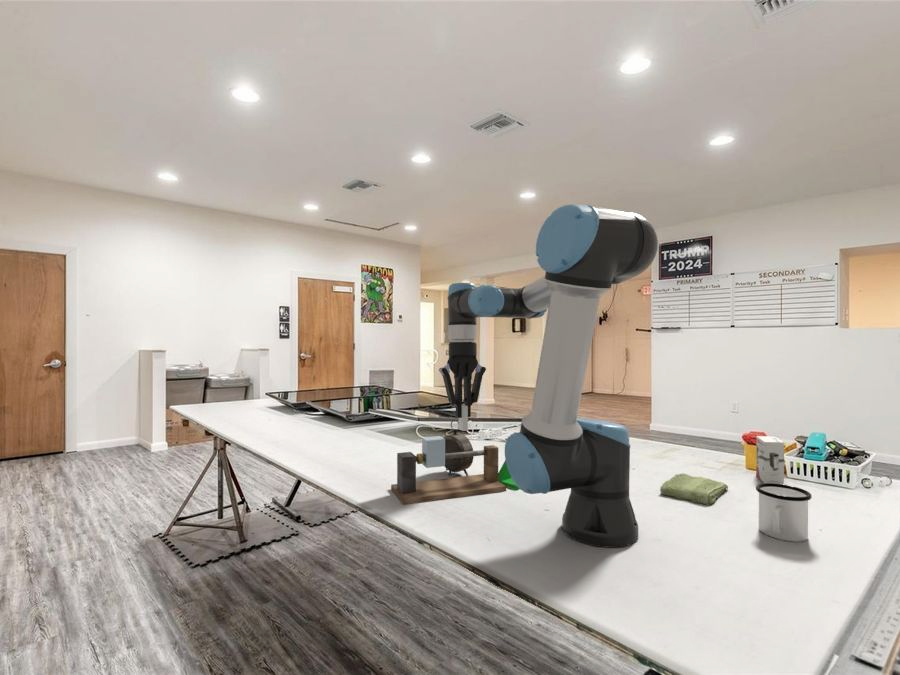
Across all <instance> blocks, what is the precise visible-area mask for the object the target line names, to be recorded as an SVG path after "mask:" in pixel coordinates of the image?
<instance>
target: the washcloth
mask: <svg viewBox="0 0 900 675" xmlns="http://www.w3.org/2000/svg"><path fill="white" fill-rule="evenodd" d="M728 489H729V486H728V485H727V484H726V483H724V482H721V481H717V480H713V479H711V478H707V477H703V476H693V475H690V474H687V473H684V472H683V473H682V472H681V473H677V474H675V475H674V476H672V477H671V478H670V479H669V480H665V482H664V483H662V485H660V489H659V491H660V493H661V495H663V496H667V495H668V496H669V497H673V498H676V499H682V500H683V499H684V500H687V501H691V502H694V503H698V504H702V505H709V506H710V505H711V504H714V503H716V501H717V499H718V498H719V497H720V496H721V495H722V494H723V493H724V492H725V491H726V490H728ZM716 498H717V499H716Z"/></svg>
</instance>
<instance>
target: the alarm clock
mask: <svg viewBox="0 0 900 675" xmlns="http://www.w3.org/2000/svg"><path fill="white" fill-rule="evenodd" d="M453 422H457V424H458V427H457V428H454V427H453V426H452V424H453ZM450 427H451V430H452V431H453V433H451V434H448V435H445V436H443V438H444V439H445V454H446V453H457V452H467V451H474V448H473V446H472V443H471V441H470V439H469V438H468V437H467V436H466V435H465V434H463V433H461V432H457V431H458V430H460V429H459V420H458V419H453V420H451V422H450ZM474 457H475V456H471V457H461V458H451V459H445V466H443V467H444V468H445V470H446V471H448V477H450V476H451V474H452V473H459V472H462V471H463V472H464V474H465V476H469V473H468V471H467V470H468V469H469V468H470V467H471V466H472V464H473V462H474Z"/></svg>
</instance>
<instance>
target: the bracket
mask: <svg viewBox="0 0 900 675" xmlns="http://www.w3.org/2000/svg"><path fill="white" fill-rule="evenodd" d="M498 481H499V482H500V483H502V484H503V485H505V486H506V488H510V489H512V490H516V491H519V490H521V489H520V488H519V487H518V486H517V485H516V484H515V483H514V481H513V479H512V478H511V476H510V473H509V470H508V468H507V464H506V460H505V459H504V462H503V463H502V466H501V467H500V469H499V470H498Z"/></svg>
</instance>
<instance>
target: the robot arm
mask: <svg viewBox="0 0 900 675" xmlns="http://www.w3.org/2000/svg"><path fill="white" fill-rule="evenodd" d="M536 238H537V239H536V243H535V256H536V257H537V259H536V261H537V264H538V266H539V267H540V268H541V269H542V270H543V271H544V272H545V275H543V276H541V277H540V278H538V279H536V280H534V281H532V282H531V283H529V284H526V285H525V286H523V287H521V288H512V287H509V288H508V287H497V286H496V285H492V284H488V285H487V284H486V285H485V284H482V285H479V286H476V285H475V284H474V283H473V282H472V283H471V282H455V283H453V282H452V283H451V284H449V286H448V295H447V306H448V307H447V310H448V312H447V313H448V317H447V318H448V326H447V327H448V340H449V341H450V342H449V343H448V360H447V362H446V364H445V365H444V366H443V367H439V369H438V371H439V373H440V374H441V376H442V379H443V383H444V387H445V391H446V395H447V399H448V400H447V401H448V403H450V404H453V405H454V406H455V417H456V418H458V422H459V425H458V427H459V429H458V430H460V431H462V432H465V431H468V430H469V423H468V422H469V421H468V420H469V418H470V417H471V415H472V414H471V413H472V412H471V410H472V409H471V408H472V407H471V406H472V405H473V404H475V403H477V402H478V400H479V395H480V389H481V385H482V380H483V375H484V374H485V372H486V371H487V368H486V367H485V366H482V365H480V364H479V360H478V359H477V355H478V354H477V353H478V352H477V345H478V344H477V342H476V340H477V319H478V318H508V319H509V318H511V319H512V318H513V319H517V318H518V319H529V320H530V319H538V318H542V317H543V316H544V315H545V314H546V312H547V315H546V319H545V320H546V321H545V325H544V326H545V328H544V334H543V339H542V346H541V352H540V357H539V363H538V369H537V376H536V380H535V385H534V386H535V387H534V393H533V399H532V406H531V410H530V411H529V412H527V414H525V415H523V416H522V418H521V424H520V429H519V431H518V432H513V433H512V434H510V435H509V436H507V437H506V441H505V442H504V443H505V444H504V461H505V460H506V464H507V468H508V470H509V473H510V476H511V478H512V479H513V481H514V483H515V484H516V485H517V486H518V487H519V488H520V489H519V490H521V491H522V492H524V493H526V494H530V495H535V494H543V495H544V494H545V495H546V494H548V493H551V492H552V493H553V492H557V491H562V490H568V489H570V494H569V496H568V499H567V503H566V506H565V510H564V512H563V514H562V518H561V529H562V531H563V533H564V534H566V536H568V537H569V538H571V539H573V540H575V541H577V542H580V543H583V544H587V545H590V546H596V547H604V548H605V547H606V548H621V547H627V546H630V545H632V544H635V543H636V542H637V541H638V539H639V523H638V520H637V519H636V514H635V511H634V509H633V506H632V505H633V504H632V501H631V499H630V468H631V466H630V465H631V464H630V459H631V458H630V457H631V444H630V433H629V430H628V429H627V427H626V426H624V425H622V424H620V423H616V422H610V421H607V420H606V421H605V420H598V419H594V418H593V419H591V418H582V417H578V416H579V409H580V403H581V400H582V399H581V398H582V394H583V388H584V382H585V379H586V372H587V367H588V361H589V357H590V356H589V355H590V352H591V347H592V341H593V336H594V331H595V325H596V321H597V316H598V310H599V304H600V301H601V300H600V298H602V296H604V295H605V294H606V293H608V292H610V291H611V289H612V285H618V284H620V283H623V282H625V281H628V280H630V279H633V278H635V277H637V276H639V275H641V274H643V272H646V270H647V269H648V268H650V266H651V265H652V263H653V262H654V260H655V258H656V256H657V252H658V245H659V241H658V235H657V232H656V230H655V228H654V227H653V225H652V224H651V222H649V221H648V220H647V218H645V217H643V216H642V215H640V214H638V213H635V212H631V211H625V210H623V211H622V210H617V209H611V208H605V207H601V206H595V205H589V204H564V205H562V206H559V207H558V208H556V209H555V210H553V211H552V212H551V214H550V215H549V216H547V218H546V219H545V220H544V221H543V223H542V225H541V227H540V229H539V232H538V235H537V237H536ZM450 371H451V373H453V379H454V386H453V382H452V378H451V375H450ZM474 372H475V373H474ZM473 373H474V378H473ZM472 379H473V381H472ZM472 382H473V383H472Z"/></svg>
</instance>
